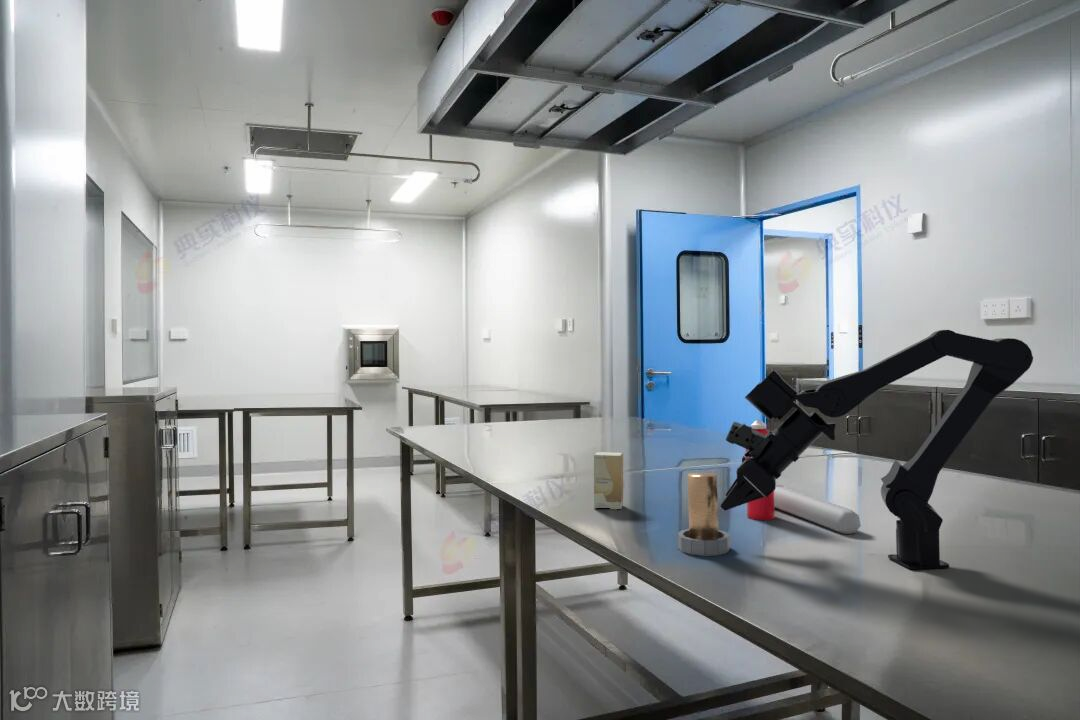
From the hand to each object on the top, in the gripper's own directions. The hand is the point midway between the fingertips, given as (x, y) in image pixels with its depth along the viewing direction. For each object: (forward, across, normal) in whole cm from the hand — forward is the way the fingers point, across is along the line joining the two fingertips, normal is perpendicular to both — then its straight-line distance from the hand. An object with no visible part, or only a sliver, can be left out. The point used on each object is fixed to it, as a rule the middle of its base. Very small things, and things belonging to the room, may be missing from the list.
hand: (725, 502), depth 122 cm
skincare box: (+26, -28, -14) cm, 40 cm away
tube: (-4, -26, +17) cm, 31 cm away
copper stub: (+9, 0, +3) cm, 9 cm away
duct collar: (+9, 0, +3) cm, 9 cm away
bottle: (+3, -26, +9) cm, 28 cm away
